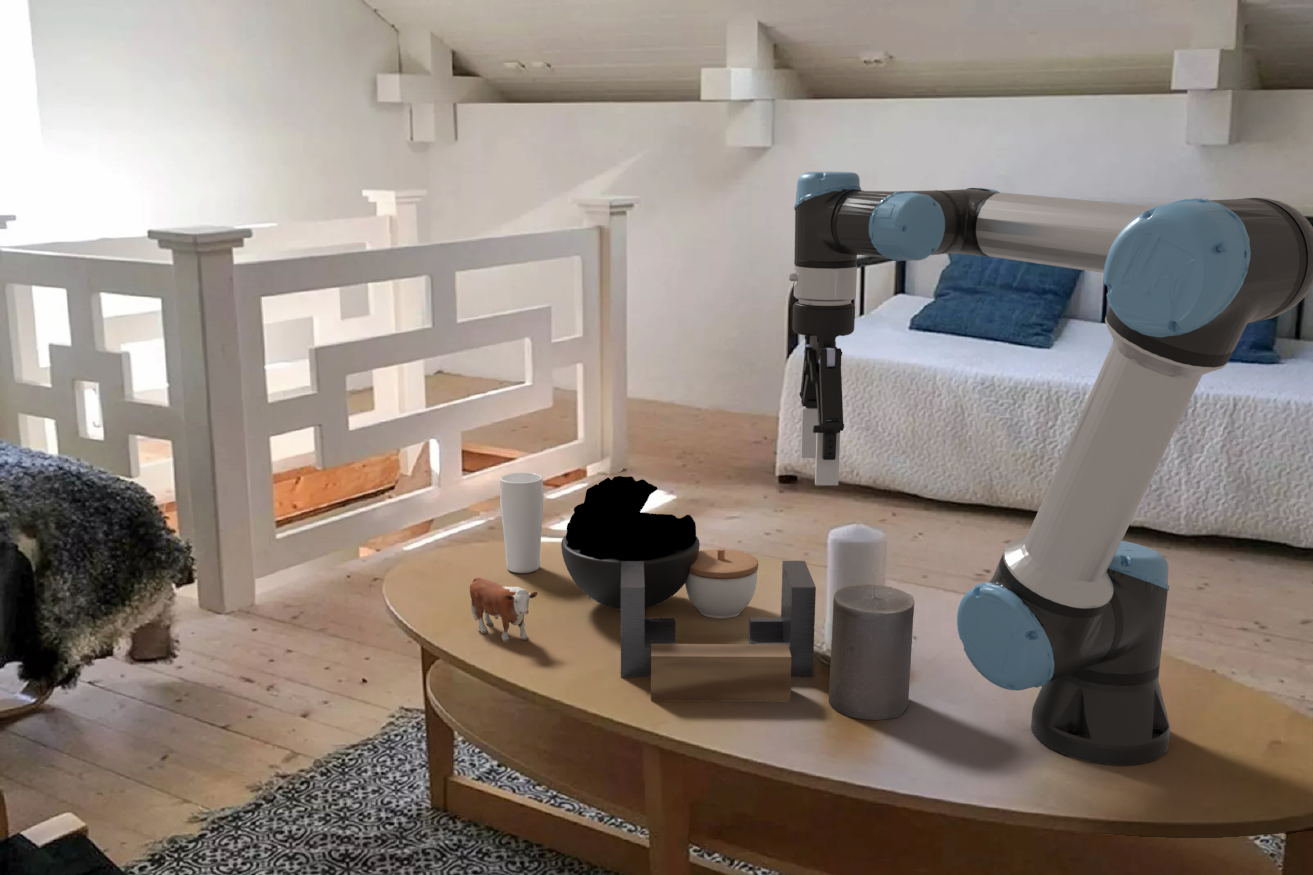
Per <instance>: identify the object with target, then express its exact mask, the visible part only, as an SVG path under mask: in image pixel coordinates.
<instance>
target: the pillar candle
mask: <svg viewBox="0 0 1313 875" xmlns="http://www.w3.org/2000/svg"><path fill="white" fill-rule="evenodd" d="M832 601H833V603H832V604H833V605H832V624H831V625H832V626H831V628H832V630H831V649H830V662H829V663H830V666H829V684H828V690H829V691H828V703H829V705H830V706H831V707H832V709H834V710H835V711H837V712H839V713H840V714H841V715H844V716H847V717H850V718H855V719H859V720H867V721H882V720H883V721H884V720H890V719H894V718H898V717H900V716H901V715H903V713H904V712H905V711H906V710H907V708H908V705H909V696H910V682H911V680H910V676H911V667H912V666H911V665H912V664H911V663H912V650H913V648H912V646H913V632H914V631H913V629H914V613H915V599H914V596H913V595H912V594H911V593H907V591H903V590H902V589H899V588H896V587H892V586H888V585H887V586H886V585H883V584H871V583H868V584H867V583H865V584H854V585H852V584H851V585H848V586H845V587H842V588H840V589H837V591H836V592H835V593H834V594H833V600H832Z"/></svg>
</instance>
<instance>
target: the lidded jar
mask: <svg viewBox="0 0 1313 875" xmlns="http://www.w3.org/2000/svg"><path fill="white" fill-rule="evenodd" d="M758 570H759V560H758V559H757V558H756V556H754V555H752V554H750V553H747V552H744V551H742V550H741V551H740V550H734V549H725V548H717V549H716V548H715V549H713V548H712V549H704V550H699V553H698V558H697V560H696V561H695V563H694V564H693V565H691V566H690V570H689V575H688V578H687V580H686V583H685V584H684V585H685V586H684V587H685V590H686V594H687V596H688V599H689V600H690V602H691V603H692V605H693V606H694V607H695V608H696V609H698V612H699V613H700V614H701V615H702V616H704V617H707V618H713V619H731V618H735V617H738V616H739V615H741V613H742V611H743V610H744V609H745V608H746V607H748V605H749V604H750V603H751V601H752V600H753V598H754V595H755V593H756V592H755V591H756V588H757V582H758Z"/></svg>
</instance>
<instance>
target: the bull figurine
mask: <svg viewBox="0 0 1313 875" xmlns="http://www.w3.org/2000/svg"><path fill="white" fill-rule="evenodd" d="M537 595H538V591H535V590H534V591H532V592H528V590H526V589H525V588H521V587H520V586H505V585H502V584H499V583H497V582H495V581H491V580H489V579H485V578H481V577H474V578H473V580H472V582H471V584H470V585H469V596H470V599H471V600H470V601H471V605H470V606H471V614H472V616H473V618H474V620H475V621H476V622H477V621H478V625H479V627H478V630H479V631H480V634H481V635H482V634H483V635H486V634H488V633H489V631H488V628H487V626H490V627H491V626H493V625H494V622H493V621H492V619H491V617H490V616H492V617H494V619H495V620H498V619H499V618H500V619H501V622H502V628H503V632H502V634H501V636H500V637H501V639H502V642H505V643H509V642H510V637H509V633H508V631H509V629H510V624H511V625H513V626H517V627H518V628H519V636H520V639H521V640H522V641H528V640H529V636H528V635H527V632H526V629H525V627H526V626H525V625H526V624H525V621H524V618H525V615H528V614H529V612H530V611H529V603H530V599H533V598H535V597H536V596H537ZM484 621H485V622H484ZM485 623H486V624H485ZM486 625H487V626H486Z"/></svg>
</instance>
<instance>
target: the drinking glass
mask: <svg viewBox="0 0 1313 875" xmlns="http://www.w3.org/2000/svg"><path fill="white" fill-rule="evenodd" d="M543 480H544V478H543V476H542V475H541V474H538V473H534V472H524V471H523V472H512V473H507V474H504V475H502V476H500V478H499V483H500V484H499V503H500V513H501V523H502V532H503V539H504V540H503V541H504V551H505V566H506V569H507V570H508V571H509V572H512V573H515V574H527V573H533V572H535V571H538V569H539V568H540V566H541V544H542V542H541V541H542V529H543V528H542V527H543V514H544V481H543Z"/></svg>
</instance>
